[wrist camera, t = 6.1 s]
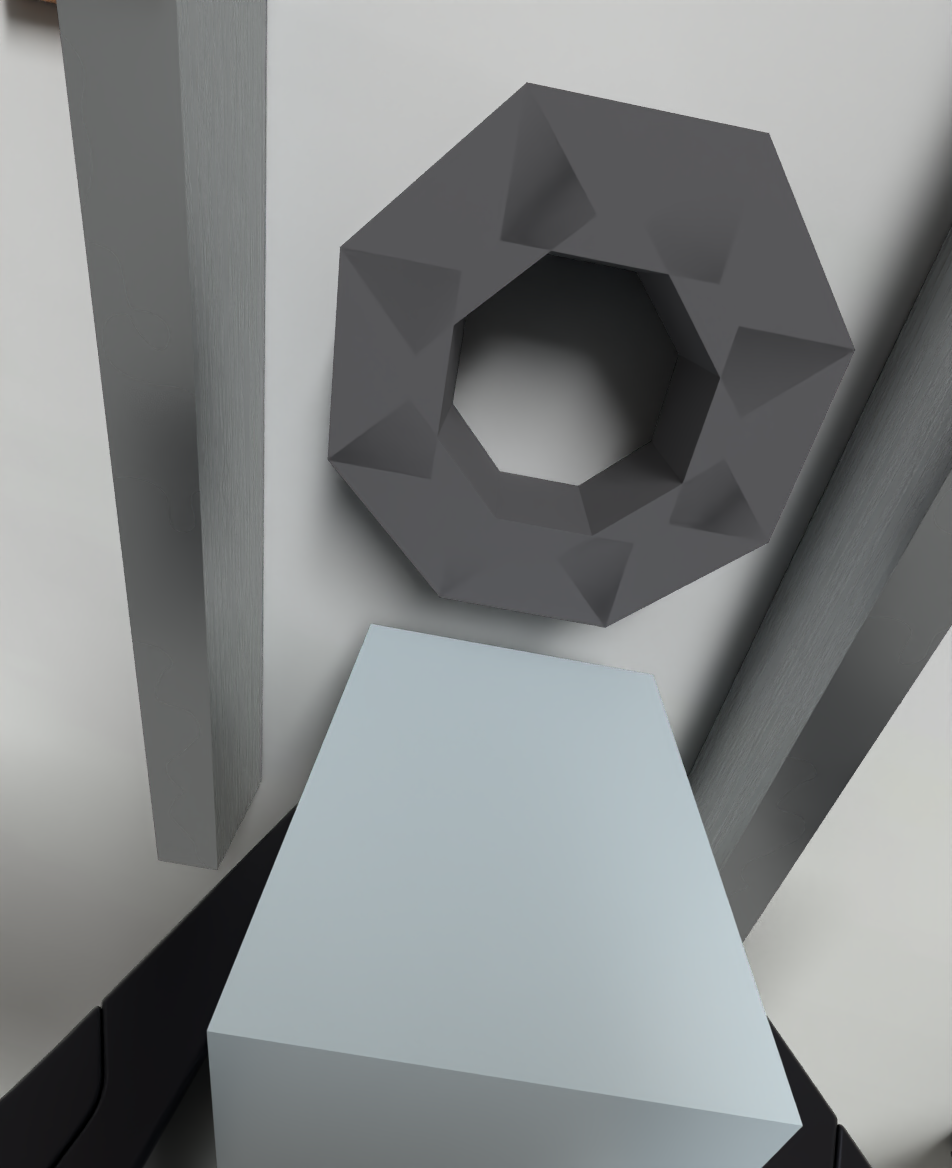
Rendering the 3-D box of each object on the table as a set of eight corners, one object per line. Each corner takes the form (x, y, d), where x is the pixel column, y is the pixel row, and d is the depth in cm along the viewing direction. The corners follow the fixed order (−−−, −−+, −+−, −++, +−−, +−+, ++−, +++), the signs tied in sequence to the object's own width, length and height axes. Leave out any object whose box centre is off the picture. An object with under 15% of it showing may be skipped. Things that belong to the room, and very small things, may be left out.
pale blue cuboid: (566, 895, 11) (600, 1332, 6) (345, 858, 11) (225, 1277, 6) (653, 674, 8) (804, 1126, 4) (371, 623, 8) (206, 1030, 4)
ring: (685, 583, 9) (720, 648, 8) (354, 521, 9) (320, 575, 8) (840, 189, 7) (936, 168, 5) (390, 96, 7) (351, 45, 5)
